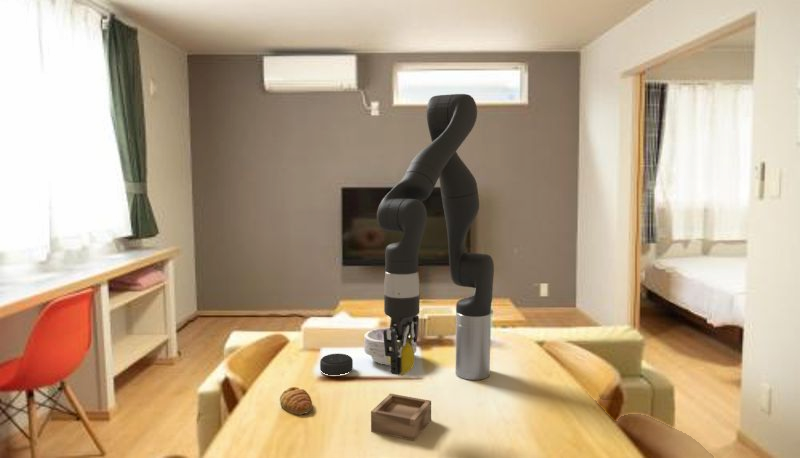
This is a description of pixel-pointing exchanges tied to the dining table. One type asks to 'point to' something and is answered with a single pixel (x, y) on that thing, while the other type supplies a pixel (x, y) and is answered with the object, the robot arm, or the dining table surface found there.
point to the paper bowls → (377, 345)
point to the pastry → (296, 401)
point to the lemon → (406, 358)
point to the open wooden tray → (401, 416)
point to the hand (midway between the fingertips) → (401, 368)
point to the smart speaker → (336, 364)
